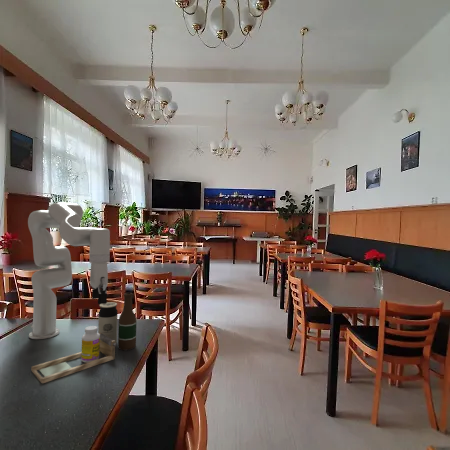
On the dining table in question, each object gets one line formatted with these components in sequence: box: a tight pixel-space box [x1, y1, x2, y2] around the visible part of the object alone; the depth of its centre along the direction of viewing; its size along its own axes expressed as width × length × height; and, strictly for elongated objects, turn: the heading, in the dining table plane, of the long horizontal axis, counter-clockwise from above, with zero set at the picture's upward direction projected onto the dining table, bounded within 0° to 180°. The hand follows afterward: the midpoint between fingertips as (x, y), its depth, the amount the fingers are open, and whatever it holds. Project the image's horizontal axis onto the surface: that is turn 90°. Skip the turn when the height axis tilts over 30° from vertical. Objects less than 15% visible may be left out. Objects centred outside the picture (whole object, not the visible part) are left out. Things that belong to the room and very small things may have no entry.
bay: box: [30, 333, 117, 384], centre depth 115 cm, size 27×14×7 cm, turn 138°
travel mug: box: [97, 301, 119, 344], centre depth 135 cm, size 8×8×18 cm
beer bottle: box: [117, 292, 137, 351], centre depth 132 cm, size 8×8×24 cm
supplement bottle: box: [80, 325, 101, 364], centre depth 119 cm, size 7×7×13 cm
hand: (99, 301), depth 120 cm, fingers open, 9 cm apart
